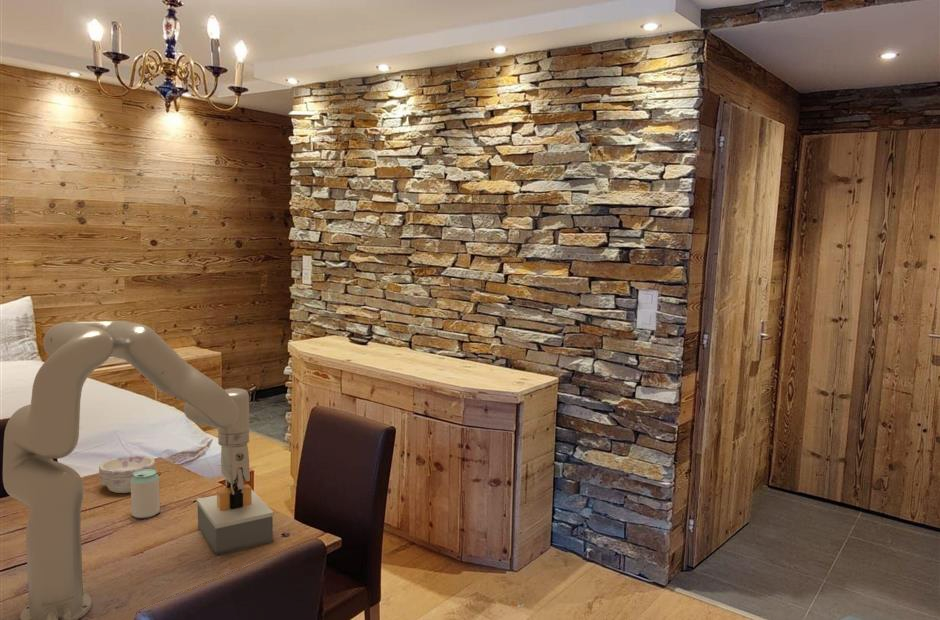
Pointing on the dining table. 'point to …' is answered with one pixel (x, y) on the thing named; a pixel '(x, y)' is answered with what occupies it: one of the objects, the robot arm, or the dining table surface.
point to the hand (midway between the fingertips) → (234, 504)
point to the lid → (224, 516)
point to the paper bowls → (123, 471)
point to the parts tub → (235, 534)
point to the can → (145, 494)
